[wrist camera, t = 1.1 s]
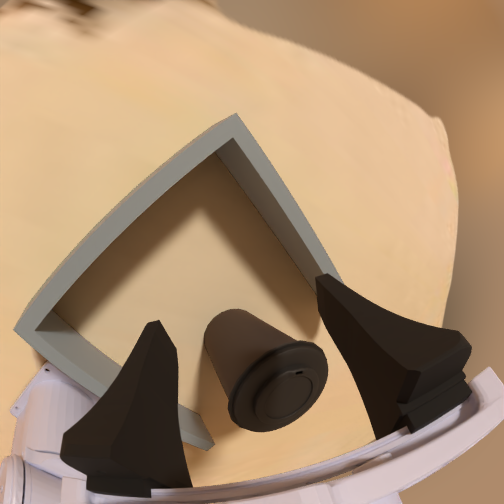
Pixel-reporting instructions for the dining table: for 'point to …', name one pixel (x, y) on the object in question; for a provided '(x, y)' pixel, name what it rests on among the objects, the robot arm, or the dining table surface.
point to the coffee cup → (264, 370)
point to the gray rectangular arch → (133, 205)
